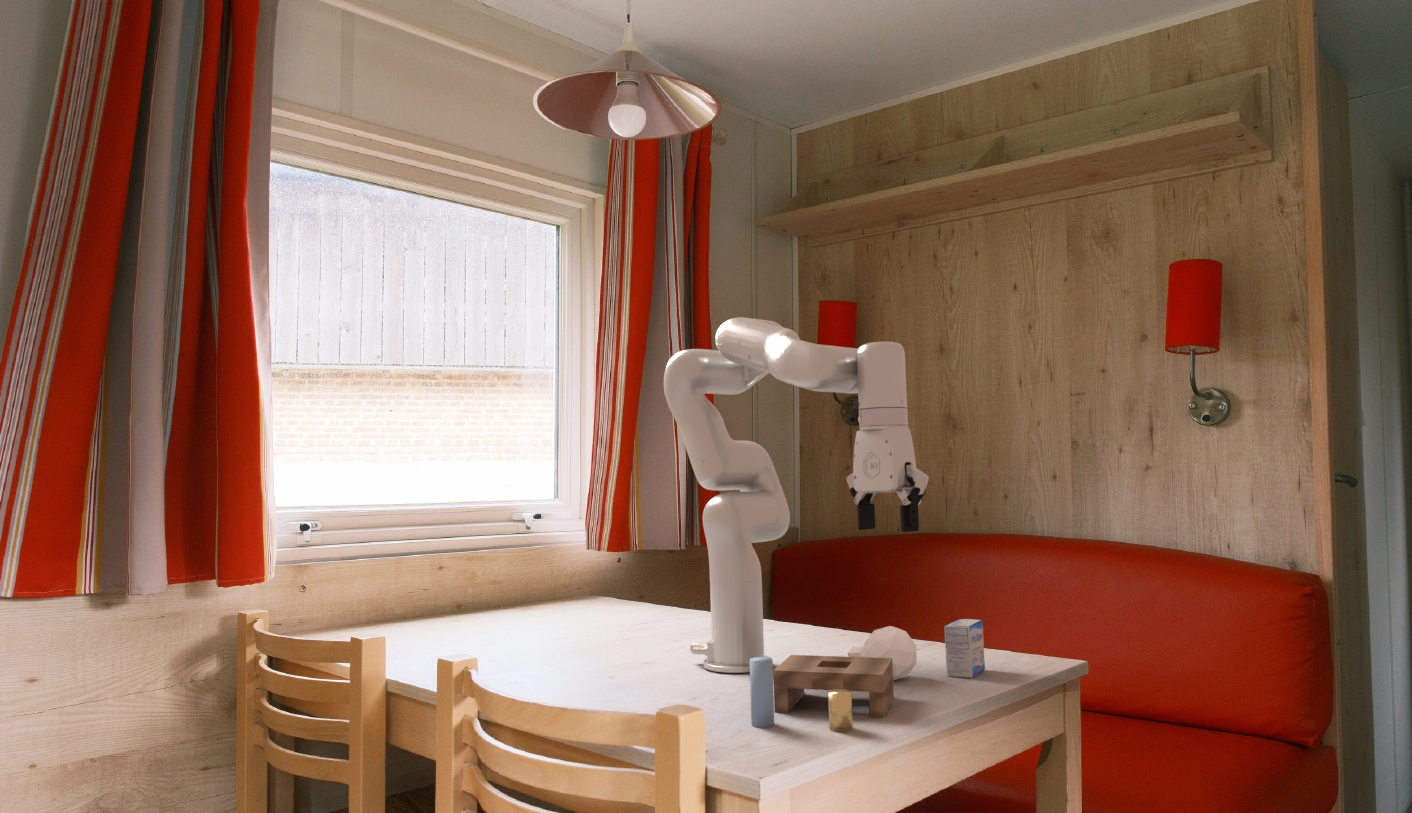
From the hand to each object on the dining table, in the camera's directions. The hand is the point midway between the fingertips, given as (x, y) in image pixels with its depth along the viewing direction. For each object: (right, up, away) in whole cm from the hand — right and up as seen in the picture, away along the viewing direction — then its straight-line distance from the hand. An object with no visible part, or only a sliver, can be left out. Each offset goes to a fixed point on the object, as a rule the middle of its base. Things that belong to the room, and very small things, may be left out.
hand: (887, 530), depth 147 cm
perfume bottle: (+2, -27, +12) cm, 30 cm away
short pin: (-10, -25, -18) cm, 32 cm away
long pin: (-20, -25, -15) cm, 36 cm away
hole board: (-9, -26, -5) cm, 28 cm away
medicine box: (+16, -27, +14) cm, 34 cm away
